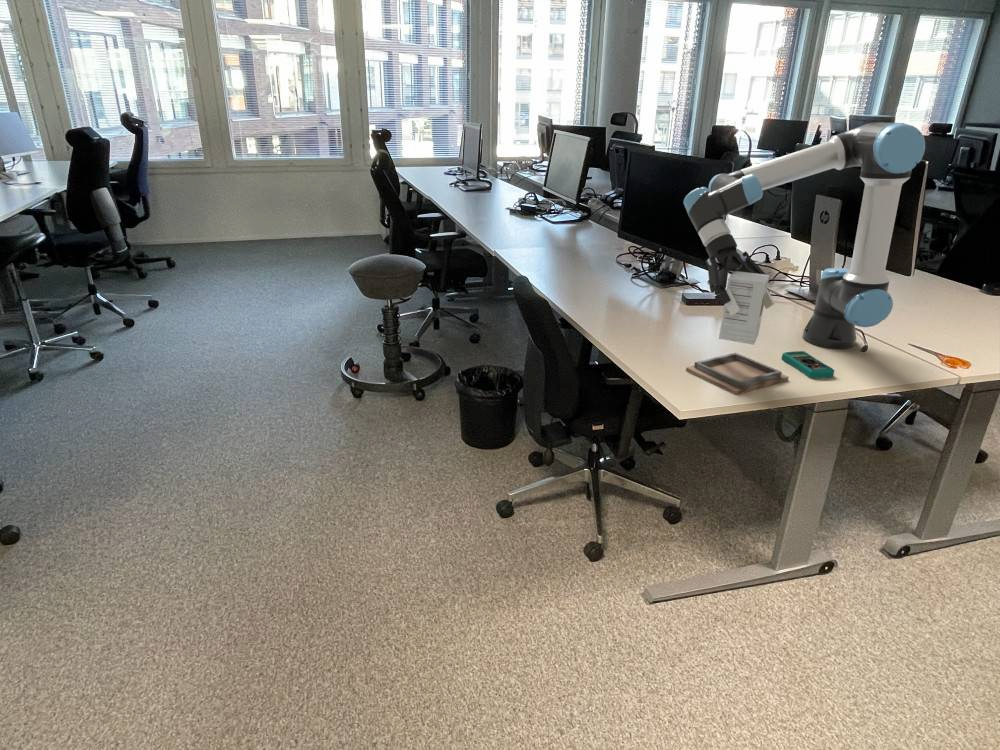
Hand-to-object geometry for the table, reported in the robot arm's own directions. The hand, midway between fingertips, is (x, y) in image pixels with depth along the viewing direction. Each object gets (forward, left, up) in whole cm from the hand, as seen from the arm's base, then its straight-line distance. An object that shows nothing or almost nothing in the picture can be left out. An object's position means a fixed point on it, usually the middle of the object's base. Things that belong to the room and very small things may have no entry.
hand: (753, 309), depth 165 cm
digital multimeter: (-23, +3, -20) cm, 31 cm away
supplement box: (0, -3, -9) cm, 9 cm away
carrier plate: (0, -2, -20) cm, 20 cm away
